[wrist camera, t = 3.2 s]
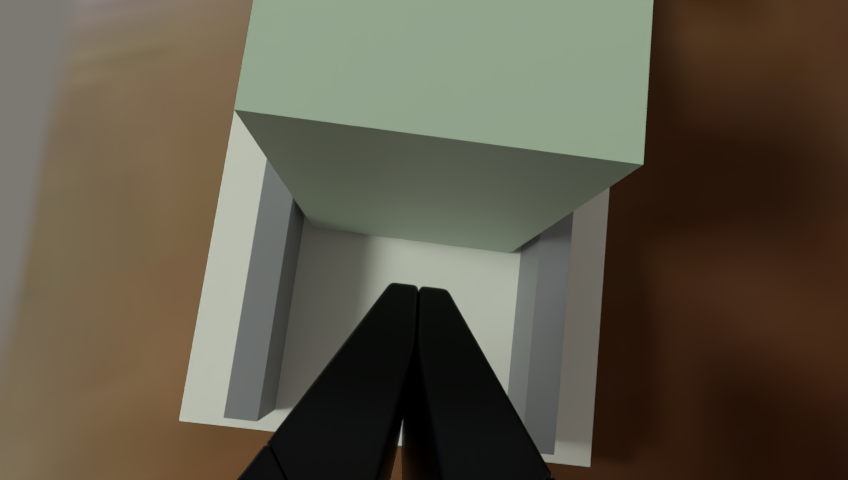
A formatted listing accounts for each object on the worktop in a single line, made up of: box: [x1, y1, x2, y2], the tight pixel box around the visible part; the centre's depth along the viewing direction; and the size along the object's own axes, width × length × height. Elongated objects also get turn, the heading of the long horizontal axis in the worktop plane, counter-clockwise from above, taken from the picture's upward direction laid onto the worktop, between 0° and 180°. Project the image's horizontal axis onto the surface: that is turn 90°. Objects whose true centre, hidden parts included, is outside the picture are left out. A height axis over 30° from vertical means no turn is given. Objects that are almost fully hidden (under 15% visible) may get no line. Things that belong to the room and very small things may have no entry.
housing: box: [179, 110, 610, 467], centre depth 14 cm, size 16×10×6 cm, turn 173°
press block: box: [234, 0, 653, 253], centre depth 12 cm, size 5×5×8 cm
